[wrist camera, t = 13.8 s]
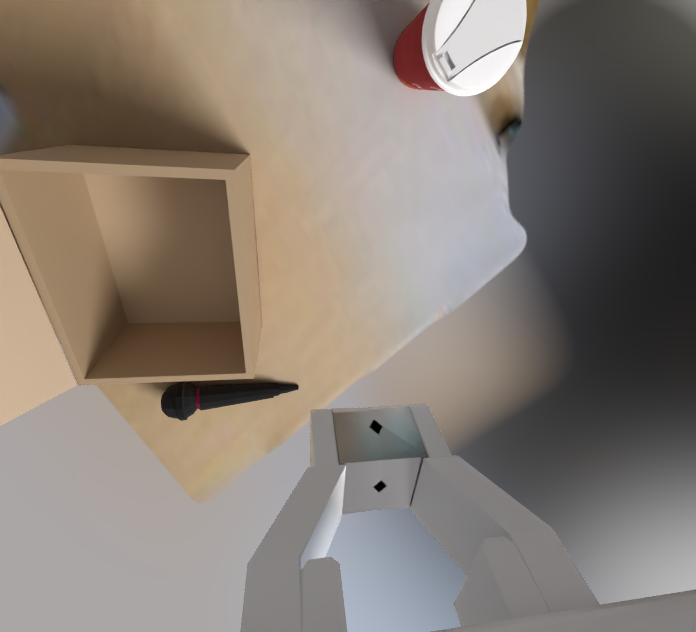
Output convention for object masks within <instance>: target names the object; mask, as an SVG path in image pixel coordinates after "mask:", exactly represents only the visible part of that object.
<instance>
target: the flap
mask: <svg viewBox="0 0 696 632" xmlns="http://www.w3.org/2000/svg"><path fill="white" fill-rule="evenodd" d="M74 386H76V382H75V380H74V378H73V375H72V373H71V371H70V368H69V366H68V364H67V361H66V359H65V357H64V354H63V352H62V350H61V347H60V345H59V343H58V340H57V338H56V336H55V333H54V331H53V329H52V326H51V324H50V322H49V319H48V317H47V315H46V312H45V310H44V308H43V305H42V303H41V301H40V298H39V296H38V294H37V291H36V289H35V287H34V284H33V282H32V280H31V277H30V275H29V273H28V270H27V268H26V265H25V263H24V261H23V258H22V256H21V254H20V251H19V249H18V247H17V244H16V242H15V240H14V237H13V235H12V233H11V230H10V228H9V226H8V223H7V221H6V219H5V216H4V214H3V212H2V209H1V207H0V426H1V425H3V424H4V423H6V422H8V421H10V420H12V419H14V418H16V417H18V416H20V415H21V414H23V413H25V412H27V411H29V410H31V409H33V408H34V407H36V406H38V405H40V404H42V403H44V402H46V401H48V400H49V399H52V398H54V397H55V396H57V395H59V394H61V393H63V392H65V391H67V390H69V389H71V388H72V387H74Z"/></svg>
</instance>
